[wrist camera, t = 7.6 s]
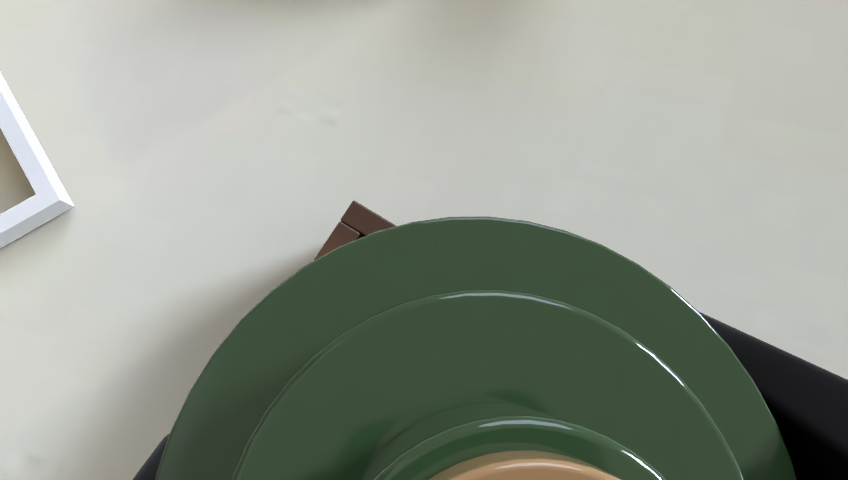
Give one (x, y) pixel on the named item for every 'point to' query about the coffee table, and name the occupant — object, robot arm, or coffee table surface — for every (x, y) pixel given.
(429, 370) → the bottle
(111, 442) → the coffee table surface
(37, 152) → the photo frame
